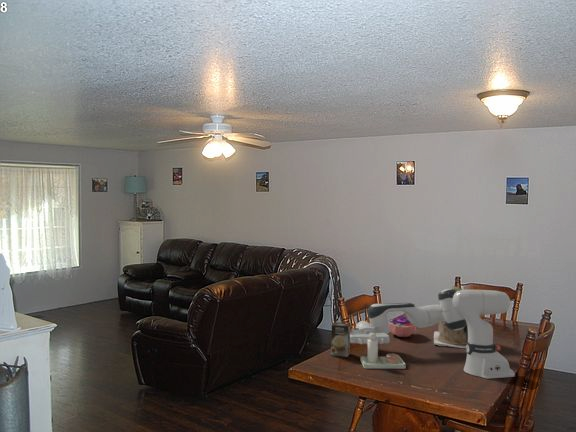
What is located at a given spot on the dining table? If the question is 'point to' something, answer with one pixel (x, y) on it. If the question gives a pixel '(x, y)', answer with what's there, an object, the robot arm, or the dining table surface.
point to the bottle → (372, 349)
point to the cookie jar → (451, 334)
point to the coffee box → (340, 339)
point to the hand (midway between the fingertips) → (371, 342)
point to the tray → (382, 363)
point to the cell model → (401, 327)
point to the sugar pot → (392, 358)
